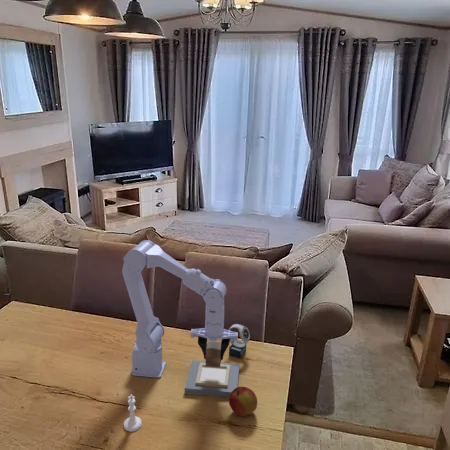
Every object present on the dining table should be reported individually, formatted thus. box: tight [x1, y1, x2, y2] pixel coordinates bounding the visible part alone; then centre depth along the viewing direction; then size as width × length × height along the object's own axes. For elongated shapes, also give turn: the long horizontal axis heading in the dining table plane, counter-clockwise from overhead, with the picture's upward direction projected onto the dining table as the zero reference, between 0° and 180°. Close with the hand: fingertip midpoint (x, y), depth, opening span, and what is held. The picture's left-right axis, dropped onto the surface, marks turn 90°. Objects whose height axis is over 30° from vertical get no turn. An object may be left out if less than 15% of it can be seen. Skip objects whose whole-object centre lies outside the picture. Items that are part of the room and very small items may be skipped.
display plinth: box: [184, 359, 240, 398], centre depth 133 cm, size 16×14×3 cm
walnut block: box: [205, 341, 222, 367], centre depth 130 cm, size 4×4×6 cm
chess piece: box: [123, 393, 143, 432], centre depth 113 cm, size 5×5×10 cm
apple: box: [228, 386, 258, 417], centre depth 119 cm, size 8×8×8 cm
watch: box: [228, 323, 251, 360], centre depth 146 cm, size 6×8×11 cm
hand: (213, 357), depth 131 cm, fingers closed on walnut block, 4 cm apart
